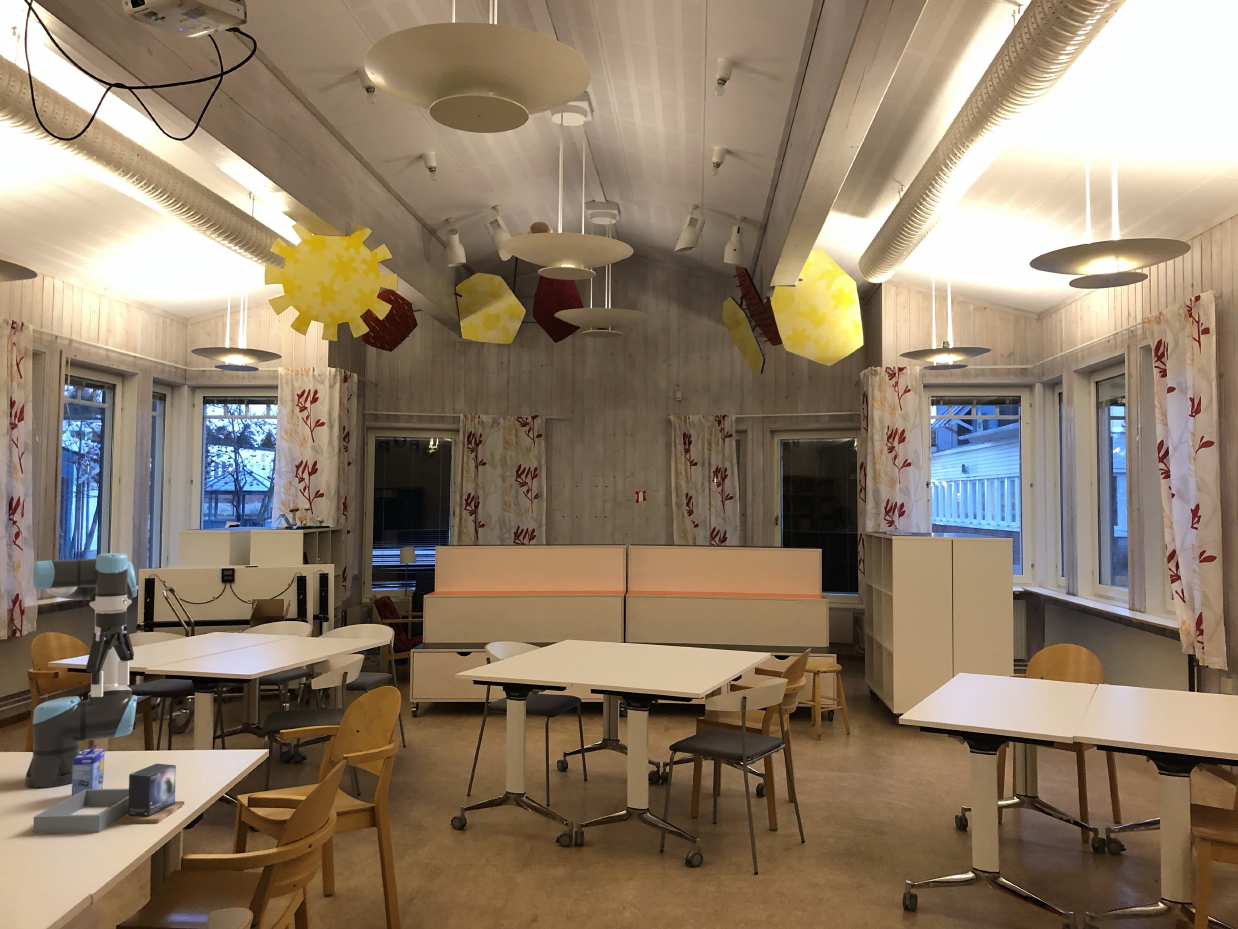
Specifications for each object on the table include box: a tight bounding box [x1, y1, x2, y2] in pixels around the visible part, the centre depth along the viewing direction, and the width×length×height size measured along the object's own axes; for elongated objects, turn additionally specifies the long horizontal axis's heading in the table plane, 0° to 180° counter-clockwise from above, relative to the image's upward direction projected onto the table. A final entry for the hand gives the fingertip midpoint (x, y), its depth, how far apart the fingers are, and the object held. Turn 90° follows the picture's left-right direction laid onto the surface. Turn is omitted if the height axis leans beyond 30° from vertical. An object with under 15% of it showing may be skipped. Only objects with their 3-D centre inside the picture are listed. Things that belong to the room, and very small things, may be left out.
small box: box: [128, 763, 177, 817], centre depth 239 cm, size 11×6×10 cm, turn 169°
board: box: [118, 800, 185, 825], centre depth 238 cm, size 14×10×1 cm
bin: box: [33, 788, 129, 834], centre depth 236 cm, size 22×16×4 cm
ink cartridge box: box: [71, 742, 106, 797], centre depth 253 cm, size 10×6×14 cm, turn 13°
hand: (110, 690), depth 247 cm, fingers open, 13 cm apart
